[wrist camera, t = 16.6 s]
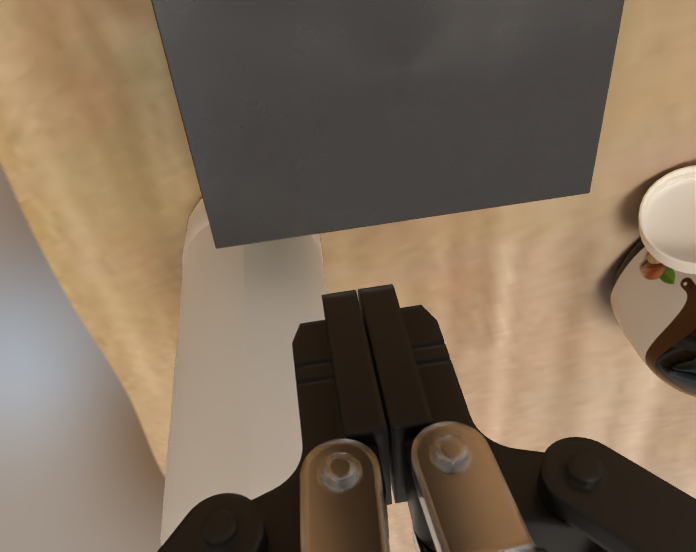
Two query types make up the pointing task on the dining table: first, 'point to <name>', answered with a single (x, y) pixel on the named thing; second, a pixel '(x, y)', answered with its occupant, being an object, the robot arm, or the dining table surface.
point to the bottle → (237, 366)
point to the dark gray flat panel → (384, 106)
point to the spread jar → (663, 282)
